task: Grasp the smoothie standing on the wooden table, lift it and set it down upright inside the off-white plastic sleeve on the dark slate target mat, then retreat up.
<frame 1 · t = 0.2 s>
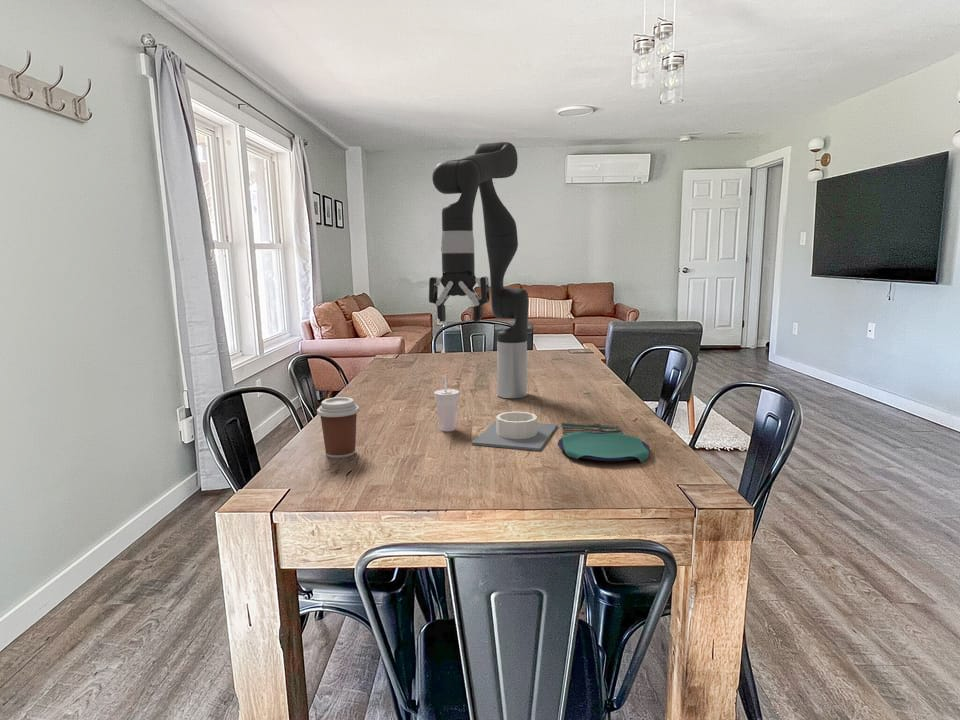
hand: (459, 321, 136), 28 cm above the table, fingers open, 8 cm apart
coffee cup: (340, 454, 129), on the table
smoothie: (447, 430, 146), on the table
cutlery set: (599, 446, 134), on the table
sleeve stand: (516, 435, 141), on the table
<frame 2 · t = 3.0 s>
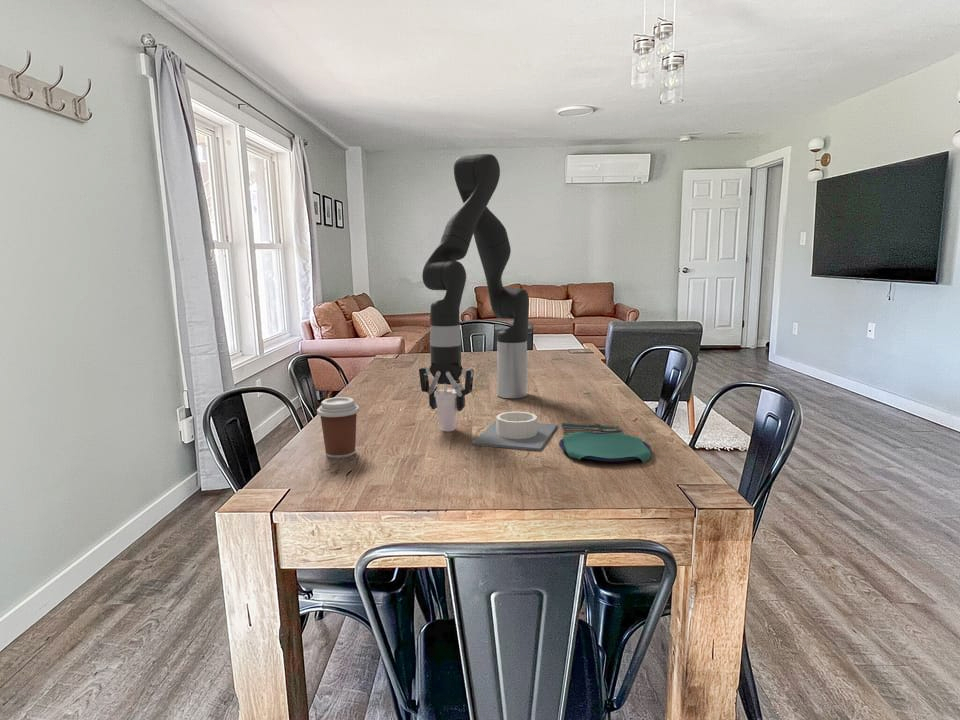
hand: (446, 409, 145), 5 cm above the table, fingers closed on smoothie, 6 cm apart
smoothie: (447, 430, 146), on the table, touching gripper
everything else where it was.
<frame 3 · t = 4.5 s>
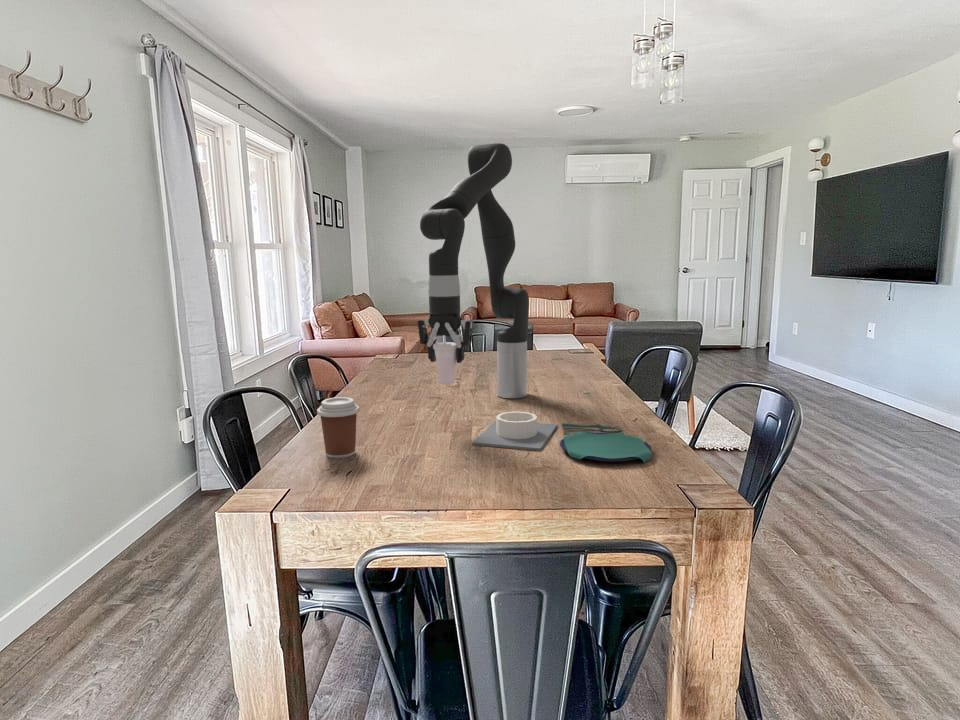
hand: (446, 361, 143), 17 cm above the table, fingers closed on smoothie, 6 cm apart
smoothie: (446, 383, 144), point 12 cm above the table, touching gripper
everything else where it was.
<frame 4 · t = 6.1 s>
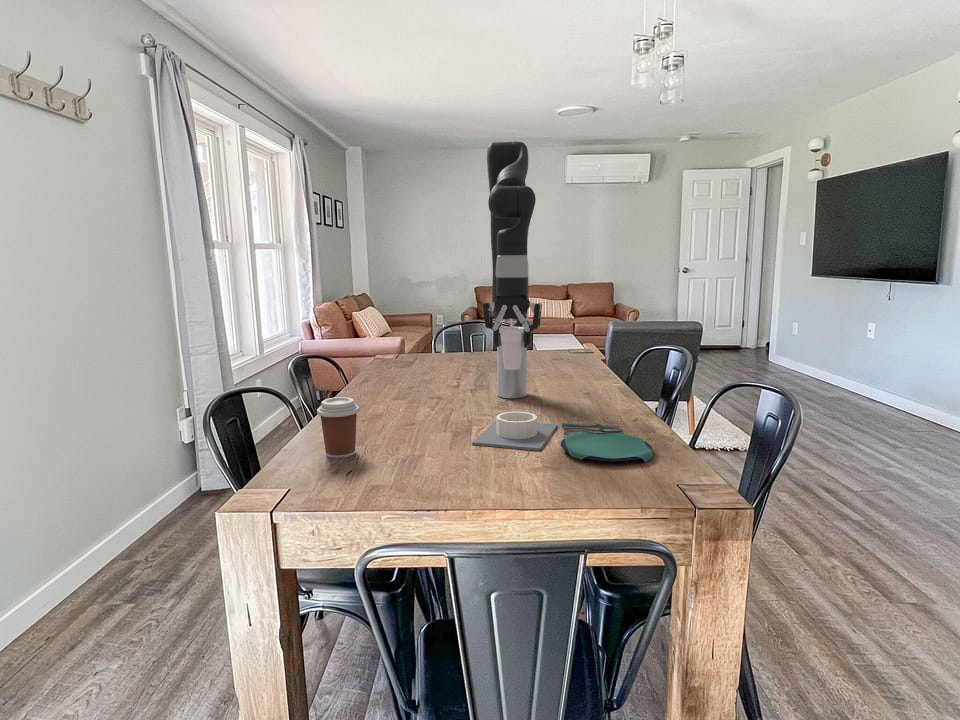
hand: (512, 346, 137), 22 cm above the table, fingers closed on smoothie, 6 cm apart
smoothie: (512, 369, 138), point 16 cm above the table, touching gripper
everything else where it was.
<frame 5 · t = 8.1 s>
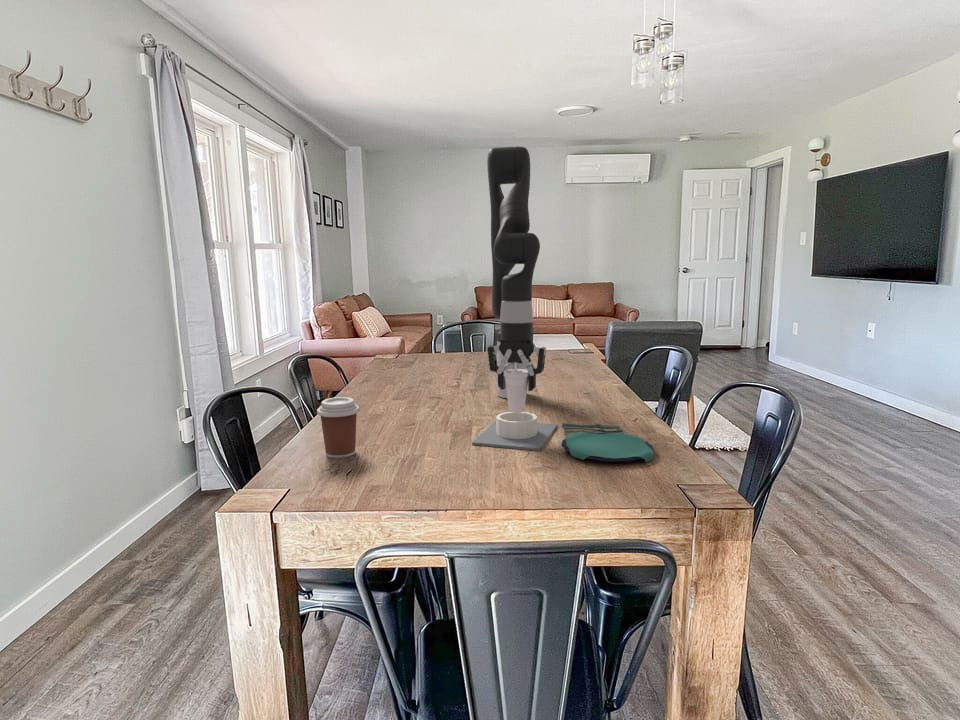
hand: (516, 389, 139), 11 cm above the table, fingers closed on smoothie, 6 cm apart
smoothie: (516, 411, 140), point 6 cm above the table, touching gripper
everything else where it was.
when the fingers open (7 cm above the table, at t = 9.6 s): smoothie drops 1 cm, resting on sleeve stand.
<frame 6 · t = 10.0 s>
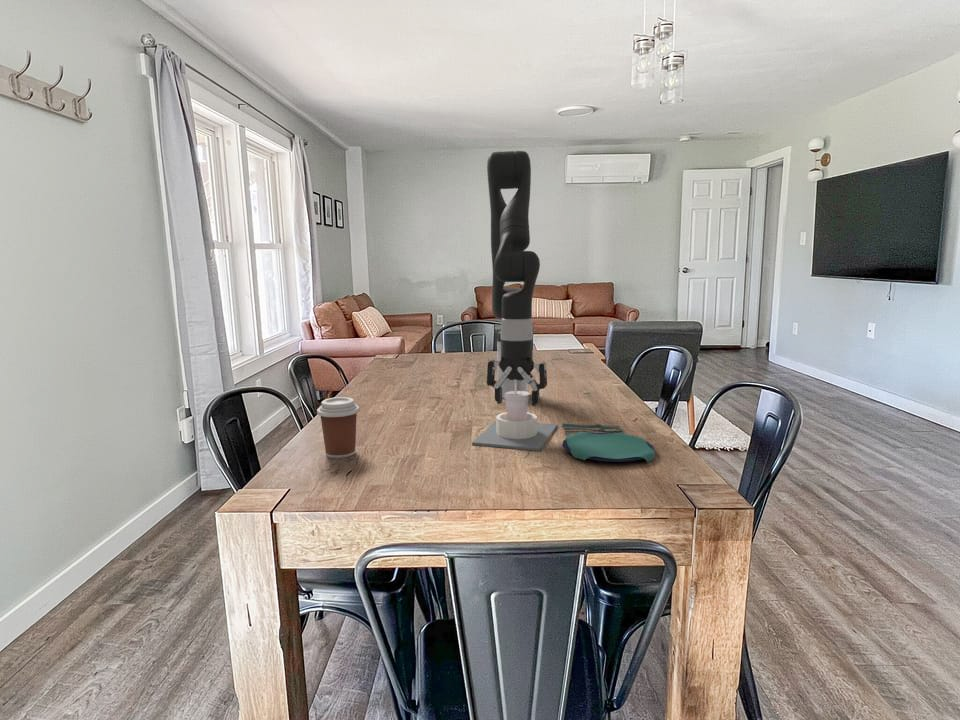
hand: (516, 404, 139), 8 cm above the table, fingers open, 8 cm apart
smoothie: (517, 433, 141), resting on sleeve stand
everything else where it was.
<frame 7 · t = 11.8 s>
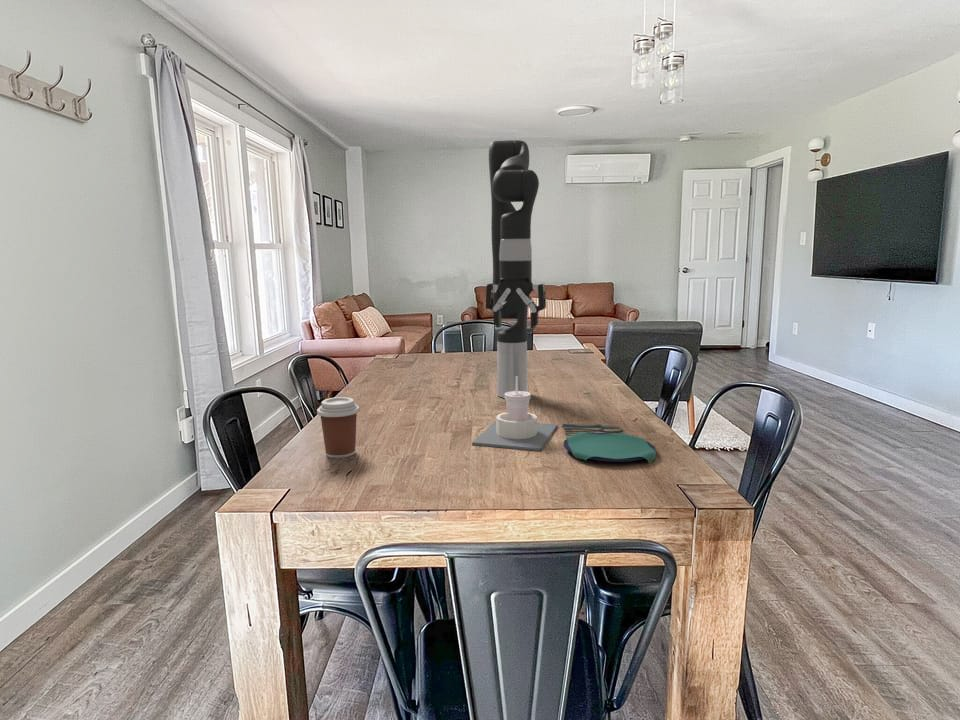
hand: (515, 327, 139), 26 cm above the table, fingers open, 8 cm apart
nothing on the table moved.
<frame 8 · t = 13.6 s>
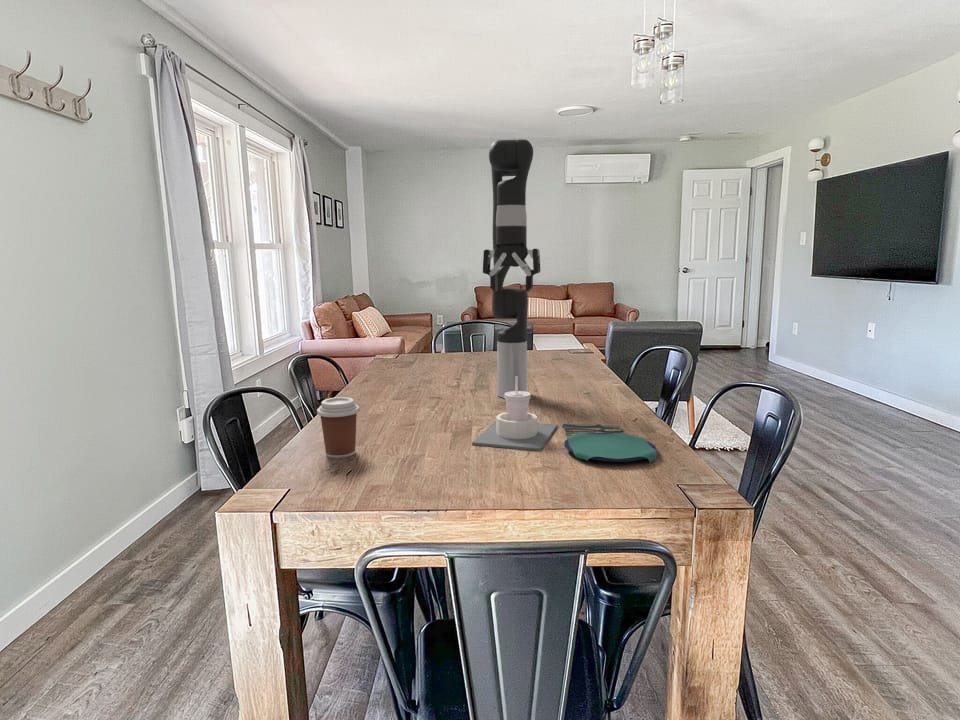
hand: (511, 291, 145), 34 cm above the table, fingers open, 8 cm apart
at the end: smoothie 0.1 cm off-centre on the sleeve stand, point 0.4 cm above the sleeve stand's base; smoothie tilted 1°; the gripper is holding nothing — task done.
